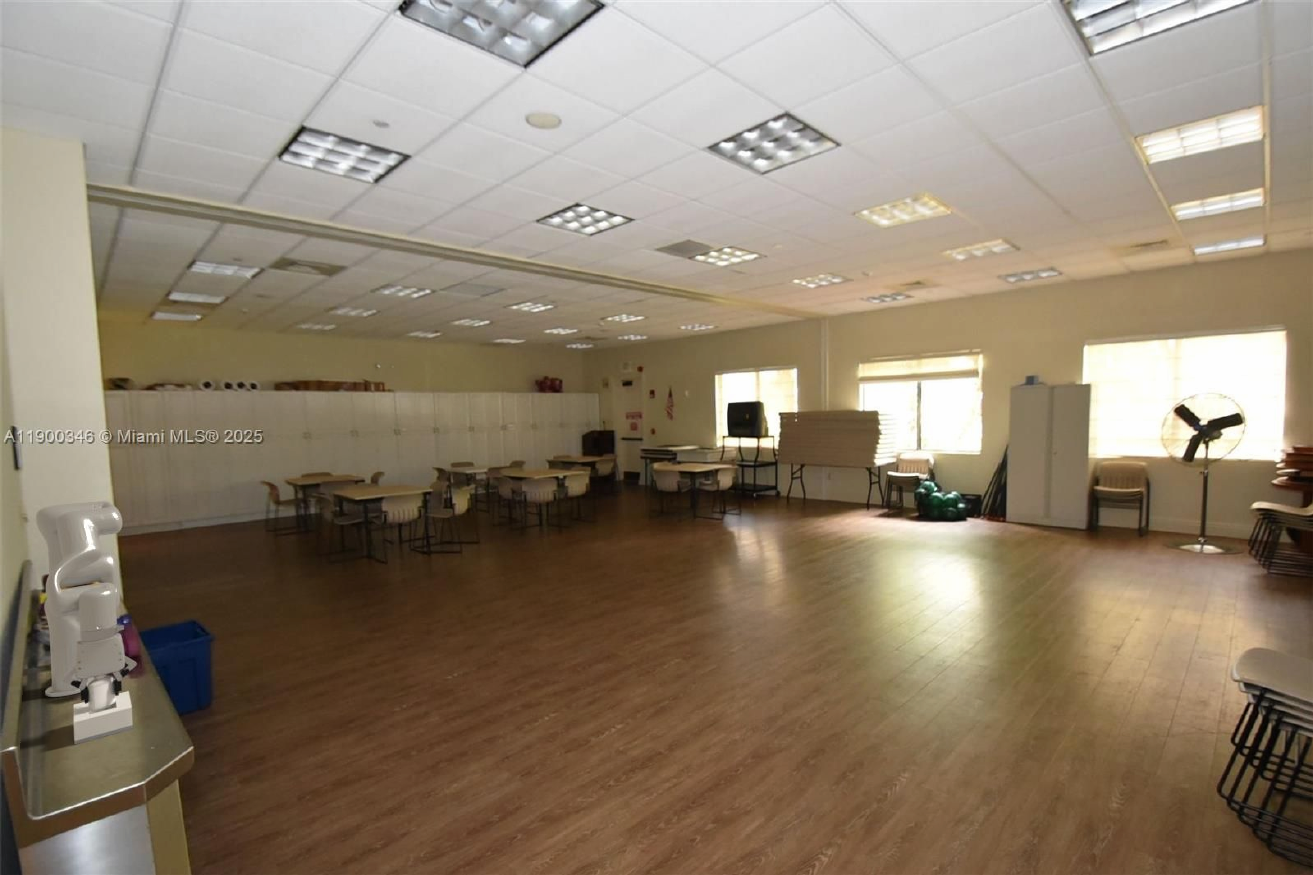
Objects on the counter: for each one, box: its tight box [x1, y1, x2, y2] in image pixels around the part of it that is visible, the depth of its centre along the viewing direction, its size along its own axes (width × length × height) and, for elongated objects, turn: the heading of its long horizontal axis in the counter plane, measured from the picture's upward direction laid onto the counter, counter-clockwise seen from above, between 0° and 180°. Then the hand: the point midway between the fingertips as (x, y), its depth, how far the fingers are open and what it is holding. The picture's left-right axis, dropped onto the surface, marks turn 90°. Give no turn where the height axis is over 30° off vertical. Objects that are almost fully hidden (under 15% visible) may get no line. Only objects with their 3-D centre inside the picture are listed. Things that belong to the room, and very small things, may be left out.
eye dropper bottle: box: [87, 674, 116, 711], centre depth 166 cm, size 4×6×12 cm
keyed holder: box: [73, 690, 134, 745], centre depth 167 cm, size 14×12×6 cm
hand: (101, 697), depth 166 cm, fingers closed on eye dropper bottle, 5 cm apart
